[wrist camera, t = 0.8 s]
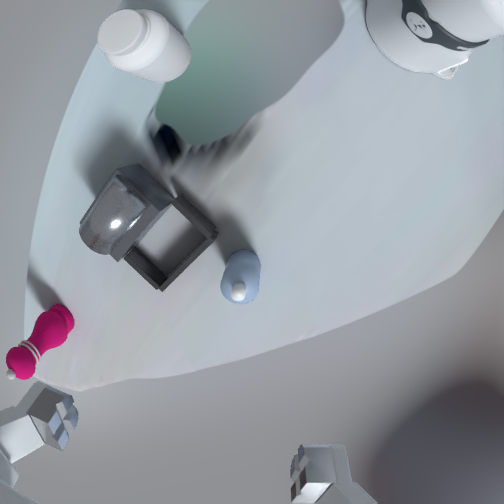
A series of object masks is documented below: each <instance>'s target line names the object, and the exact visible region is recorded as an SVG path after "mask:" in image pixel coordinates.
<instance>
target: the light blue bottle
mask: <svg viewBox="0 0 504 504" xmlns="http://www.w3.org/2000/svg"><path fill="white" fill-rule="evenodd" d="M260 268H261V264H260V260H259V258H258V257H257V256H256V255H255V254H254V253H253V252H251V251H247V250H239V251H237V252H235V253H233V254H232V255H231V256H230V257H229V260H228V262H227V265H226V268H225V271H224V274H223V277H222V280H221V285H220V287H221V292H222V294H223V295H224V297H225V298H226V299H228V300H229V301H231V302H233V303H236V304H245V303H248V302H250V301H252V300H253V299H254V298H255V297H256V296H257V294H258V291H259V280H260Z"/></svg>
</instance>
